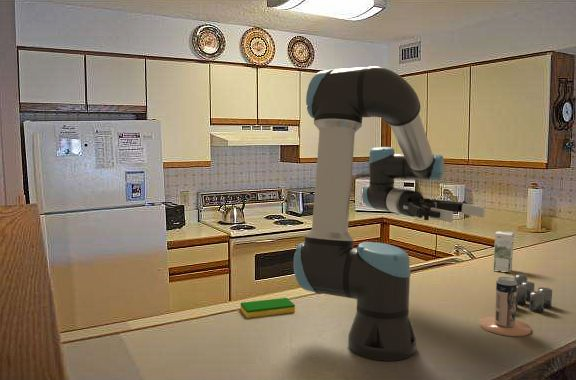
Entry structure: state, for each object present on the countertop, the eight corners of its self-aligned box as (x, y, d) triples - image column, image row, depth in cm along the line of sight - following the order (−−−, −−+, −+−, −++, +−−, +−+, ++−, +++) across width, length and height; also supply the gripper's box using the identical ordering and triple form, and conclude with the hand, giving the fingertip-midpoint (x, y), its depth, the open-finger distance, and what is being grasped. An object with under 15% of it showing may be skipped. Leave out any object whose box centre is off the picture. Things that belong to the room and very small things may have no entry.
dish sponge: (240, 310, 136) (240, 302, 136) (286, 305, 141) (286, 297, 141) (246, 319, 130) (246, 310, 129) (295, 313, 134) (295, 304, 134)
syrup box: (512, 270, 180) (514, 231, 179) (509, 273, 175) (511, 234, 174) (495, 268, 183) (497, 230, 182) (493, 271, 178) (494, 232, 177)
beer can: (513, 329, 120) (516, 282, 119) (493, 325, 123) (495, 279, 122) (516, 323, 125) (518, 277, 123) (496, 320, 127) (498, 275, 126)
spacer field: (477, 305, 140) (478, 288, 140) (517, 288, 157) (517, 273, 157) (530, 319, 130) (531, 301, 129) (566, 299, 146) (567, 283, 146)
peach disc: (504, 339, 116) (504, 336, 116) (469, 321, 127) (469, 319, 127) (542, 332, 120) (542, 330, 120) (505, 316, 131) (505, 314, 131)
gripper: (432, 211, 152) (494, 223, 135) (375, 218, 138) (436, 234, 120) (433, 187, 151) (496, 197, 134) (376, 192, 136) (438, 204, 119)
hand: (468, 214), depth 127 cm, fingers open, 13 cm apart
